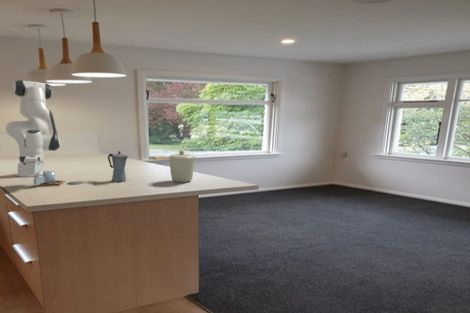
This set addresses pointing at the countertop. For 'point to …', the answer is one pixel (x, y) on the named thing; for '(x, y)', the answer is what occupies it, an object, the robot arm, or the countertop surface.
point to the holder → (58, 183)
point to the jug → (46, 178)
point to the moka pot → (118, 166)
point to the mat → (75, 183)
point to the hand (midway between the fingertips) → (36, 180)
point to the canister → (181, 167)
